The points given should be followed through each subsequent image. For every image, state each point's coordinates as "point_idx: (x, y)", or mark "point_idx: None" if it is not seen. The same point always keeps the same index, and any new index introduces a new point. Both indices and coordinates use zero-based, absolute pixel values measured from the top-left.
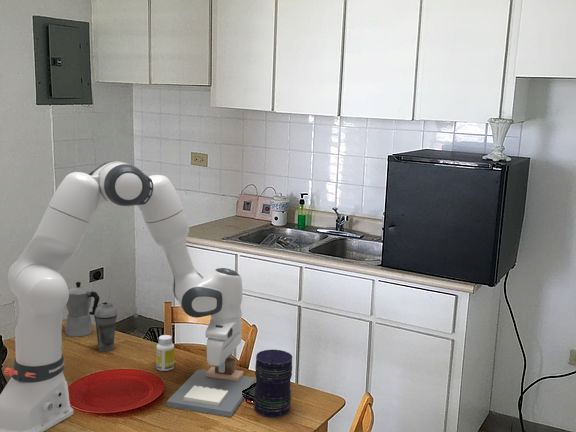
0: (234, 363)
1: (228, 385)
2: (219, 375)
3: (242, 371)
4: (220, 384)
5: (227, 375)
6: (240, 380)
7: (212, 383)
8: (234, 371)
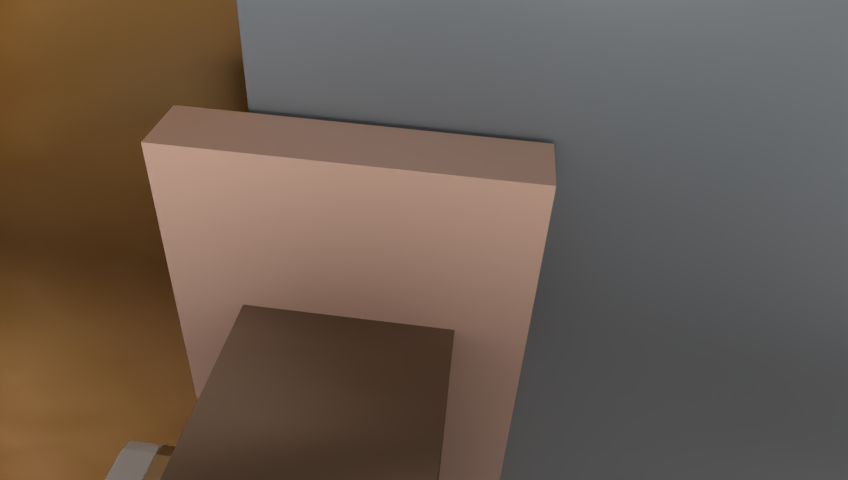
0: (181, 452)
1: (774, 272)
2: (498, 469)
3: (166, 158)
4: (733, 386)
5: (476, 378)
6: (485, 100)
7: (701, 475)
8: (250, 301)
